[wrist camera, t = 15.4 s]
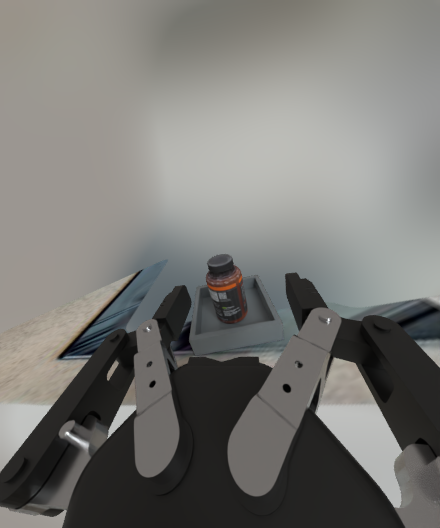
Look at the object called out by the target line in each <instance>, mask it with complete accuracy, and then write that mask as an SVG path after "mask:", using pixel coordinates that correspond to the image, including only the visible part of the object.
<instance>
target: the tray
mask: <svg viewBox="0 0 440 528" xmlns="http://www.w3.org/2000/svg"><path fill="white" fill-rule="evenodd" d="M242 279H243V285H244V290H245V296H246V301H247V308H248V312H247V315H246V316H245V318H244V319H242V320H241V321H239V322H237V323H233V324H227V323H224V322H222V321H220V320H219V319H218V317H217V314H216V311H215V308H214V305H213V302H212V298H211V295H210V292H209V288H208V285H204V286H199V287H197V289H196V296H195V303H194V310H193V317H192V323H191V330H190V337H189V342H190V344H191V347H192V349H193V351H194V353H195V356H197V355H203V354H209V353H214V352H220V351H225V350H231V349H236V348H242V347H247V346H253V345H258V344H264V343H269V342H275V341H280V340H284V337H283V322H282V320H281V319H280V317H279V315H278V313H277V311H276V309H275V307H274V305H273V303H272V301H271V299H270V297H269V296H268V294H267V292H266V290H265V288H264V286H263V284H262V282H261V280H260V279H259V276H258V275H254V276H249V277H244V278H242Z"/></svg>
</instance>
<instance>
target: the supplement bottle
mask: <svg viewBox="0 0 440 528" xmlns="http://www.w3.org/2000/svg"><path fill="white" fill-rule="evenodd" d="M207 264H208V267H209V268H208V269H209V270H210V271H209V272H208V273H207V275H206V282H207V285H208V288H209V292H210V295H211V298H212V302H213V305H214V308H215V311H216V314H217V317H218V319H219V320H220V321H222V322H224V323H227V324H233V323H237V322H239V321H241V320H242V319H244V318H245V316H246V315H247V312H248V308H247V301H246V296H245V290H244V285H243V279H242V274H241V271H240V269H239V268H238V267H237V266H235V265H233V260H232V257H231V256H230V255H227V254H221V255H217V256H214V257H212V258H211V259H209V261H208V263H207Z"/></svg>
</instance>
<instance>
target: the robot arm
mask: <svg viewBox="0 0 440 528" xmlns="http://www.w3.org/2000/svg"><path fill="white" fill-rule="evenodd" d="M285 279H286V294H287V299H288V301H289V304H290V307H291V310H292V312H293V315H294V318H295V321H296V323H297V326H298V329H299V334H298V335H297V336H296V335H293V336H292V338H291V339H290V341H289V343H288V344H287V346H286V348H285V349H284V351H283V353H282V354H281V356H280V358H279V359H278V361H277V363H276V364H275V366H274V368H271V367H269V366H267V365H265V364H262V363H259V357H238V358H234V359H231V360H227V361H224V362H220V361H217V360H213V359H210V358H206V357H190V358H189V361H188V364H185V365H183V366H181V367H179V368H178V366H177V363H176V360H175V357H174V354H173V351H172V348H171V345H170V343H171V341H178V338H179V336H180V333H181V331H182V328H183V325H184V323H185V320H186V318H187V315H188V313H189V310H190V307H191V298H190V296H189V293H188V291H187V288H186V286H185V285H182V286H175V288H174V289H173V291H172V292H171V293H169V294H168V295H167V296H166V297H165V299H164V300H163V302H162V303H161V305H160V307H159V308H158V310H157V311H156V313H155V315H154V316H153V318H152V319H150V320H147V321H145V322H144V323H142V324H141V325H140V326H139V327H138V329H137V330H136V331H133V332H130V333H126V331H125V330H124V329H119V330H116V331H114V332H112V333H111V334H110V335H108V336H107V337H106V339H105V340H104V341H103V342H102V344H101V345H100V346H99V348H98V349H97V350H96V351H95V353H94V354H93V355H92V356H91V358H90V359H89V360H88V362H87V363H86V364H85V365H84V367H83V368H82V369H81V370H80V372H79V373H78V374H77V376H76V377H75V378H74V379H73V381H72V382H71V383H70V384H69V386H68V387H67V388H66V390H65V391H64V392H63V393H62V395H61V396H60V397H59V398H58V400H57V401H56V402H55V404H54V405H53V406H52V407H51V409H50V410H49V412H48V413H47V414H46V415H45V416H44V418H43V419H42V420H41V421H40V423H39V424H38V425H37V426H36V428H35V429H34V430H33V432H32V433H31V434H30V435H29V437H28V438H27V439H26V440H25V442H24V443H23V444H22V446H21V447H20V448H19V450H18V451H17V452H16V453H15V454H14V456H13V457H12V458H11V460H10V461H9V462H8V464H7V465H6V466H5V467H4V469H3V470H2V471H1V473H0V506H1V507H6V508H8V509H9V510H10V511H14V512H19V513H25V514H30V515H39V514H40V515H45V516H50V517H54V516H57V515H58V514H60V513H61V512H63V511H64V510H67V512H66V516H65V520H64V524H63V527H62V528H440V368H439V367H438V365H437V364H436V363H435V362H434V361H433V360H432V359H431V358H430V357H429V356H428V355H427V354H426V353H425V352H424V351H423V350H422V349H421V348H420V347H419V345H418V344H417V343H416V342H415V341H414V340H413V339H412V338H411V337H410V336H409V335H408V334H407V333H406V332H405V331H404V330H403V329H402V328H401V327H400V326H399V325H398V324H397V323H396V322H394V321H392V320H390V319H388V318H385V317H382V316H376V315H370V316H366V317H364V318H363V320H362V321H356V320H350V319H345V318H342V317H340V316H339V315H338V314H337V313H336V312H335V311H333V310H331V309H329V308H328V307H327V305H326V304H325V302H324V301H323V299H322V297H321V296H320V294H319V293H318V291H317V290H316V289H315V287H314V285H313V284H312V282H310V281H309V280H307V279H306V278H305V279H300V277H299V276H298V274H297V273H288V274H286V275H285ZM334 358H339V359H343V360H346V361H350V362H354V363H356V365H357V367H358V369H359V371H360V372H361V374H362V376H363V378H364V380H365V382H366V384H367V386H368V387H369V389H370V391H371V393H372V395H373V397H374V399H375V401H376V403H377V404H378V406H379V408H380V410H381V412H382V414H383V416H384V418H385V419H386V421H387V423H388V425H389V427H390V428H391V431H392V432H393V434H394V436H395V438H396V440H397V442H398V444H399V446H400V447H401V449H402V451H403V452H402V453H401V454H400V455H399V456H398V457H397V458H396V460H395V463H394V471H395V475H396V478H397V481H398V484H399V486H400V490H401V497H402V501H401V506H400V508H394V507H393V505H392V504H391V502H390V501H389V499H388V498H387V496H386V495H385V494H384V493H383V491H382V490H381V488H380V487H379V486H378V485H377V483H376V482H375V481H374V480H373V479H372V477H371V476H370V475H369V474H368V473H367V472H366V471H365V470H364V469H363V467H362V466H361V465H360V464H359V463H358V462H357V460H355V458H354V457H353V456H352V455H351V454H350V453H349V451H348V450H347V449H346V448H345V447H344V446H343V445H342V444H341V442H340V441H339V440H338V439H337V438H336V437H335V436H334V434H333V433H332V432H331V431H330V430H329V429H328V428H327V426H326V425H325V424H324V423H323V422H322V421H321V420H320V418H319V417H318V416H317V415H316V413H317V410H318V407H319V404H320V401H321V398H322V394H323V390H324V387H325V383H326V381H327V378H328V375H329V372H330V369H331V366H332V363H333V361H334ZM115 360H117V361H118V363H119V364H118V366H117V368H116V369H115V371H114V373H113V374H112V376H111V378H110V379H109V381H108V380H107V374H108V371H109V370H110V368H111V367H112V365H113V363H114V362H115ZM134 377H135V388H136V406H137V409H136V410H135V411H134V412H133V413H132V414H131V415H130V416H129V417H128V419H126V420H125V421H124V423H123V424H122V425H121V426H120V427H119V428H118V429H117V430H116V431H115V432H114V433H113V434H112V435H111V436H110V437H109V438H108V439H107V437H108V430H109V428H110V426H111V424H112V422H113V420H114V417H115V416H116V414H117V411H118V409H119V407H120V405H121V403H122V401H123V399H124V397H125V395H126V393H127V391H128V389H129V387H130V385H131V383H132V381H133V379H134Z"/></svg>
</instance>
